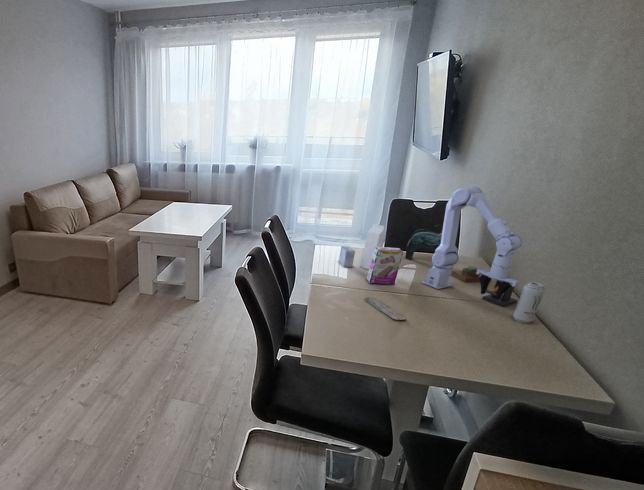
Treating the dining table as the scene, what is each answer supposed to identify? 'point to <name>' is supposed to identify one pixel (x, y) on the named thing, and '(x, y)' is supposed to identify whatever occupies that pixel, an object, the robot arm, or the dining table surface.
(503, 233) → the robot arm
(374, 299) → the thin flat strip
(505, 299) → the dark grey stand
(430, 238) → the dark green curved piece
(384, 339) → the dining table surface
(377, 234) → the milk
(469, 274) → the socket block
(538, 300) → the energy drink can
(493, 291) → the kettle switch
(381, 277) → the candy bar box
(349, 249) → the medicine box
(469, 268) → the socket button
